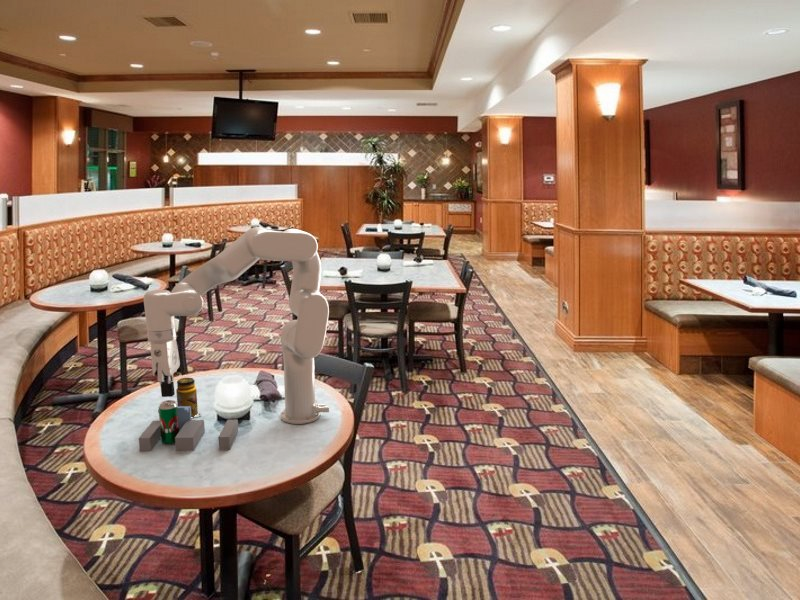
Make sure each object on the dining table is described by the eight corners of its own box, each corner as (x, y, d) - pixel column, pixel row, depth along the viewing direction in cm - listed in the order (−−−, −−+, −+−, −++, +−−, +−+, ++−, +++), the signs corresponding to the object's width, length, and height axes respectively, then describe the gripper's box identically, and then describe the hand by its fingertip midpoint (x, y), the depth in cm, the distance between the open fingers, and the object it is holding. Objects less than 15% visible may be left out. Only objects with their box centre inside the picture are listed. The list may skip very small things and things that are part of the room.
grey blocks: (239, 430, 188) (237, 405, 186) (229, 450, 176) (228, 423, 174) (155, 431, 187) (153, 406, 185) (139, 451, 174) (137, 424, 173)
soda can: (181, 437, 183) (178, 399, 181) (178, 444, 179) (175, 405, 176) (163, 438, 183) (160, 400, 180) (159, 445, 178) (156, 406, 175)
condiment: (201, 416, 198) (199, 381, 196) (174, 422, 194) (171, 386, 191) (195, 409, 204) (192, 374, 202) (168, 414, 200) (165, 379, 197)
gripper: (167, 341, 166) (173, 405, 170) (183, 326, 181) (188, 385, 185) (138, 342, 166) (145, 406, 170) (157, 327, 180) (163, 386, 185)
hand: (168, 395), depth 178 cm, fingers closed
